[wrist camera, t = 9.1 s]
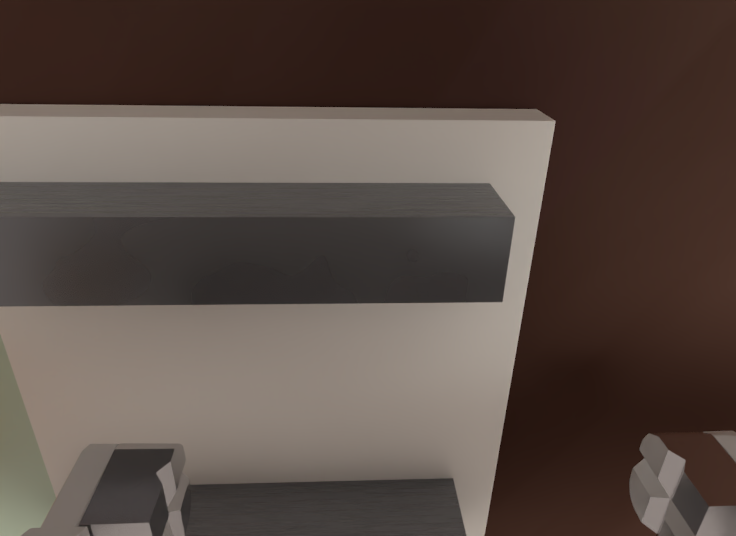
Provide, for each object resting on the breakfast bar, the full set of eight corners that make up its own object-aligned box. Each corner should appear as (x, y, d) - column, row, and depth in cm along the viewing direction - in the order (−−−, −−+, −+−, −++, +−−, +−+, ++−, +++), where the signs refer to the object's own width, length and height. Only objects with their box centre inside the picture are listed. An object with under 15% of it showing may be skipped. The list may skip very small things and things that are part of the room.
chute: (536, 109, 10) (594, 145, 8) (474, 516, 15) (497, 611, 13) (-434, 100, 9) (-686, 137, 7) (-162, 533, 14) (-258, 639, 12)
